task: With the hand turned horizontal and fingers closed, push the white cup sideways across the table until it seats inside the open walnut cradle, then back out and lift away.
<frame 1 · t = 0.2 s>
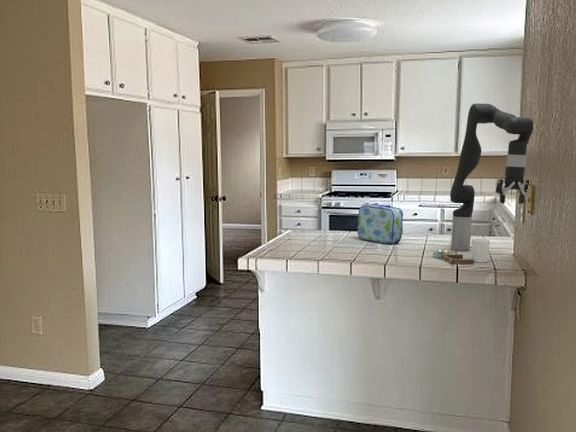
hand: (511, 203, 222), 28 cm above the worktop, tool pointing down, fingers open, 8 cm apart
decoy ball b: (445, 253, 246), point 2 cm above the worktop, touching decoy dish
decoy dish: (442, 257, 248), on the worktop
lunch box: (379, 241, 290), on the worktop
white cup: (479, 261, 241), on the worktop
cradle: (458, 261, 239), on the worktop
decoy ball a: (439, 252, 248), point 2 cm above the worktop, tilted 8°, touching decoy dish
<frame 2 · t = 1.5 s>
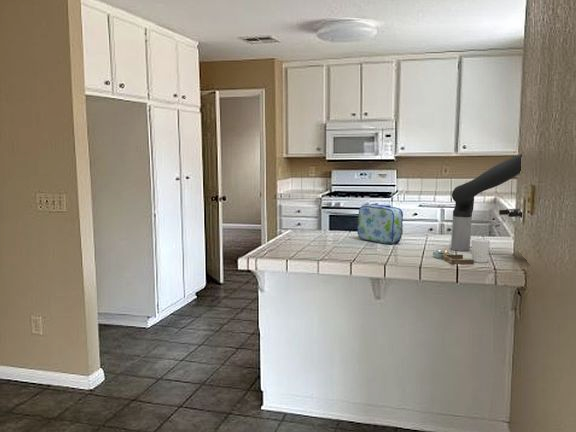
hand: (504, 213, 239), 22 cm above the worktop, tool horizontal, fingers open, 8 cm apart
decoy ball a: (439, 252, 248), point 2 cm above the worktop, tilted 19°, touching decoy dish
everything else where it was.
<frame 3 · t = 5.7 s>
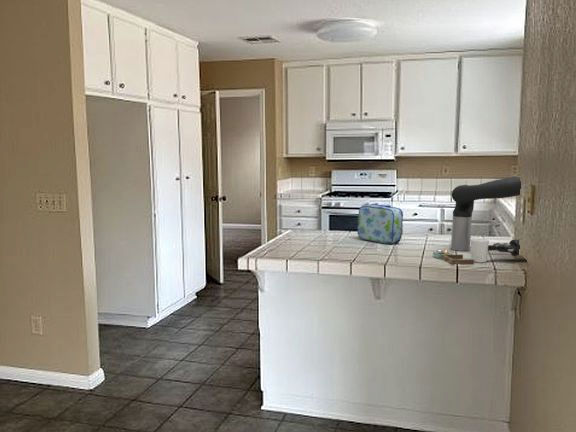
hand: (487, 247, 240), 6 cm above the worktop, tool horizontal, fingers closed
white cup: (478, 261, 241), on the worktop, touching gripper
everything else where it was.
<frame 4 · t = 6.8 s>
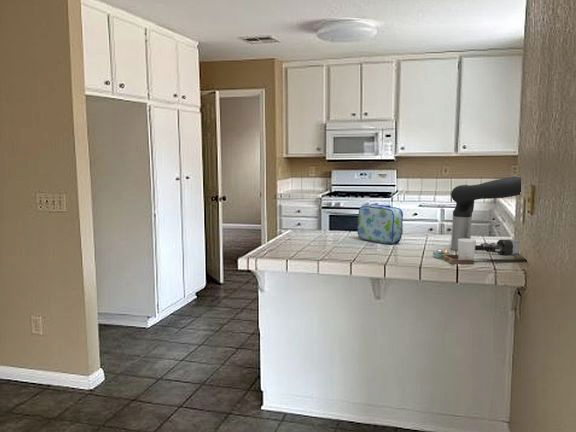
hand: (474, 247, 239), 6 cm above the worktop, tool horizontal, fingers closed
white cup: (465, 261, 240), on the worktop, touching gripper
everything else where it was.
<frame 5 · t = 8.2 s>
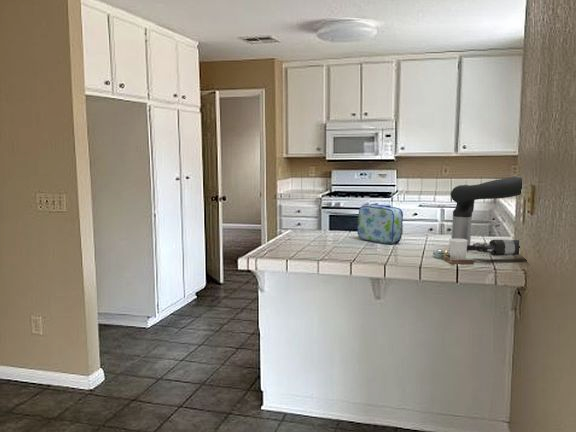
hand: (466, 247, 239), 6 cm above the worktop, tool horizontal, fingers closed
white cup: (457, 261, 239), on the worktop, touching gripper
everything else where it was.
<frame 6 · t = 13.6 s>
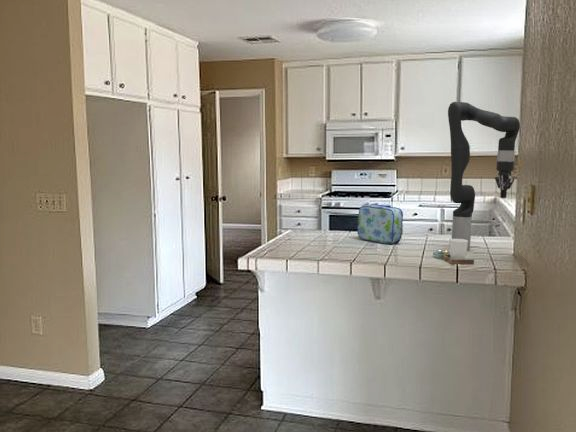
hand: (503, 197, 242), 29 cm above the worktop, tool pointing down, fingers closed
white cup: (457, 262, 239), on the worktop
everything else where it was.
at the end: white cup inside the target area on the cradle (0.3 cm from its centre), point 0.0 cm above the cradle's base; white cup tilted 0°; white cup touching worktop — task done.
